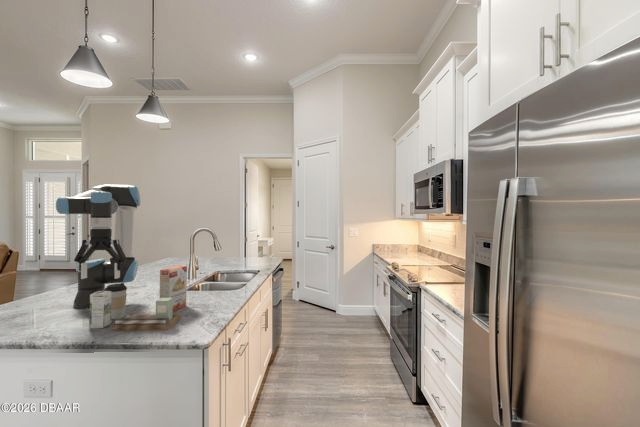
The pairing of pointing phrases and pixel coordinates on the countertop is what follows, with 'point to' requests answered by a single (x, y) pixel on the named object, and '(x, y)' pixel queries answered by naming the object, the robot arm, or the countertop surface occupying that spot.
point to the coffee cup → (117, 299)
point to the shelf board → (144, 322)
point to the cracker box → (174, 285)
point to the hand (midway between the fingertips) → (100, 278)
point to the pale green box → (164, 308)
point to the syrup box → (100, 309)
